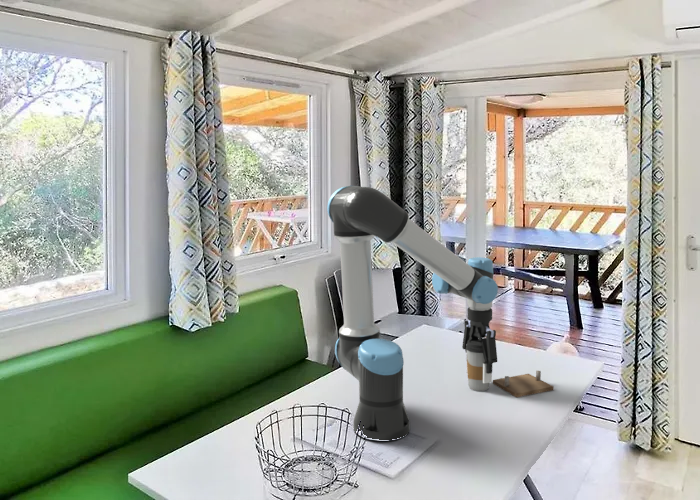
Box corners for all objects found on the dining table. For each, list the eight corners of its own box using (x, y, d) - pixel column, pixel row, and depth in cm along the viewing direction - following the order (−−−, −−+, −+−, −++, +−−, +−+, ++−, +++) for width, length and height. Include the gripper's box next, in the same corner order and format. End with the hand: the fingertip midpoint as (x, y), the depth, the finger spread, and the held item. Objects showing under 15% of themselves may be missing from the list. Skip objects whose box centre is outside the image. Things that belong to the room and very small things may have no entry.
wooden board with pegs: (516, 397, 173) (516, 384, 172) (492, 383, 184) (492, 371, 184) (553, 390, 178) (553, 377, 177) (528, 377, 189) (528, 364, 188)
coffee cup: (492, 393, 176) (493, 346, 174) (465, 391, 178) (465, 345, 176) (491, 383, 184) (492, 338, 182) (465, 381, 186) (465, 337, 184)
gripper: (511, 314, 169) (509, 387, 172) (471, 299, 188) (470, 365, 192) (489, 317, 166) (488, 391, 170) (451, 301, 186) (451, 368, 189)
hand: (478, 377), depth 181 cm, fingers closed on coffee cup, 8 cm apart
